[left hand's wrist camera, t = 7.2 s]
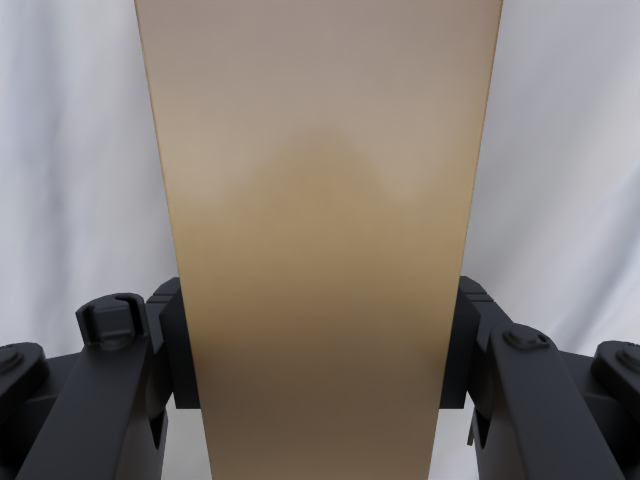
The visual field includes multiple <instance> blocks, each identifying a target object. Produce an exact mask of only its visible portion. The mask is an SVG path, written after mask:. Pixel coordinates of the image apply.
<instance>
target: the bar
mask: <svg viewBox="0 0 640 480" xmlns="http://www.w3.org/2000/svg"><path fill="white" fill-rule="evenodd" d="M134 2H135V9H136V15H137V21H138V27H139V33H140V39H141V45H142V51H143V57H144V64H145V70H146V76H147V82H148V88H149V94H150V100H151V106H152V112H153V119H154V125H155V131H156V137H157V143H158V149H159V155H160V161H161V168H162V174H163V180H164V186H165V192H166V198H167V204H168V210H169V216H170V223H171V229H172V235H173V241H174V247H175V253H176V259H177V265H178V271H179V278H180V284H181V290H182V296H183V302H184V308H185V314H186V320H187V327H188V333H189V339H190V345H191V351H192V357H193V363H194V369H195V375H196V382H197V388H198V394H199V400H200V406H201V412H202V418H203V424H204V430H205V437H206V443H207V449H208V455H209V461H210V467H211V473H212V479H213V480H428V475H429V469H430V462H431V456H432V450H433V443H434V437H435V431H436V424H437V418H438V412H439V405H440V399H441V393H442V386H443V380H444V373H445V367H446V361H447V354H448V348H449V342H450V335H451V329H452V323H453V316H454V310H455V304H456V297H457V291H458V284H459V278H460V272H461V265H462V259H463V253H464V246H465V240H466V234H467V227H468V221H469V215H470V208H471V202H472V195H473V189H474V183H475V176H476V170H477V164H478V157H479V151H480V145H481V138H482V132H483V126H484V119H485V113H486V106H487V100H488V94H489V87H490V81H491V75H492V68H493V62H494V56H495V49H496V43H497V37H498V30H499V24H500V18H501V11H502V5H503V0H134Z"/></svg>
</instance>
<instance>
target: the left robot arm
mask: <svg viewBox="0 0 640 480" xmlns="http://www.w3.org/2000/svg"><path fill="white" fill-rule="evenodd" d="M75 314H76V317H77V321H78V324H79V328H80V331H81V334H82V338H83V341H84V345H85V346H84V347H83V349H82V351H81V352H79V353H75V354H70V355H65V356H60V357H55V358H49V359H46V357H45V354H44V351H43V348H42V347H41V346H40V345H38V344H37V343H29V342H24V343H17V344H9V345H6V346H2V347H0V480H161V473H162V465H163V457H164V450H165V442H166V434H167V427H168V417H167V411H166V404H167V402H168V400H169V398H170V396H171V394H172V392H173V394H174V399H175V405H176V409H201V406H200V400H199V394H198V388H197V382H196V375H195V369H194V363H193V357H192V351H191V345H190V339H189V333H188V327H187V320H186V314H185V308H184V302H183V296H182V290H181V284H180V278H179V277H174V278H172V279H170V280H169V281H167V282H165V283H164V284H162V285H161V286H160V287H159V288H158V289H157V290H156V291H155V292H154V293H153V296H151V297H150V298H149V299H148V300H147V301H146V303H145V304H144V299H143V298H142V297H141V296H140V295H138V294H133V293H116V294H112V295H107V296H103V297H100V298H97V299H95V300H92V301H90V302H88V303H87V304H85V305H83V306H82V307H81V308H80V309H79V310H78V311H77V312H76V313H75ZM467 391H468V393H469V395H470V397H471V399H472V401H473V403H474V404H475V406H474V411H473V416H472V421H471V426H470V431H469V436H468V442H467V445H470V446H472V444H473V439H474V441H475V449H476V457H477V464H478V472H479V480H640V345H638V344H636V345H635V344H634V343H630V342H621V341H604V342H602V343H601V344H599V345H598V347H597V350H596V353H595V356H594V357H589V356H584V355H578V354H573V353H568V352H563V351H559V350H558V349H557V347H556V345H555V344H554V342H553V341H552V340H551V339H550V338H549V337H548V336H546V335H545V334H543V333H542V332H540V331H538V330H536V329H534V328H531V327H529V326H525V325H521V324H517V323H513V321H512V320H511V319H510V318H509V317H508V316H507V315H506V314H505V312H504V311H503V310H502V309H501V308H500V307H499V306H498V305H497V303H496V302H494V300H493V299H492V298H491V297H490V296H489V295H487V292H486V291H485V290H484V289H483V288H482V287H481V285H480V284H478V283H477V282H475V281H473V280H472V279H470V278H468V277H466V276H460V278H459V284H458V291H457V297H456V304H455V310H454V316H453V323H452V329H451V335H450V342H449V348H448V354H447V361H446V367H445V373H444V380H443V386H442V393H441V399H440V405H439V409H464V403H465V398H466V393H467Z"/></svg>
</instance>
